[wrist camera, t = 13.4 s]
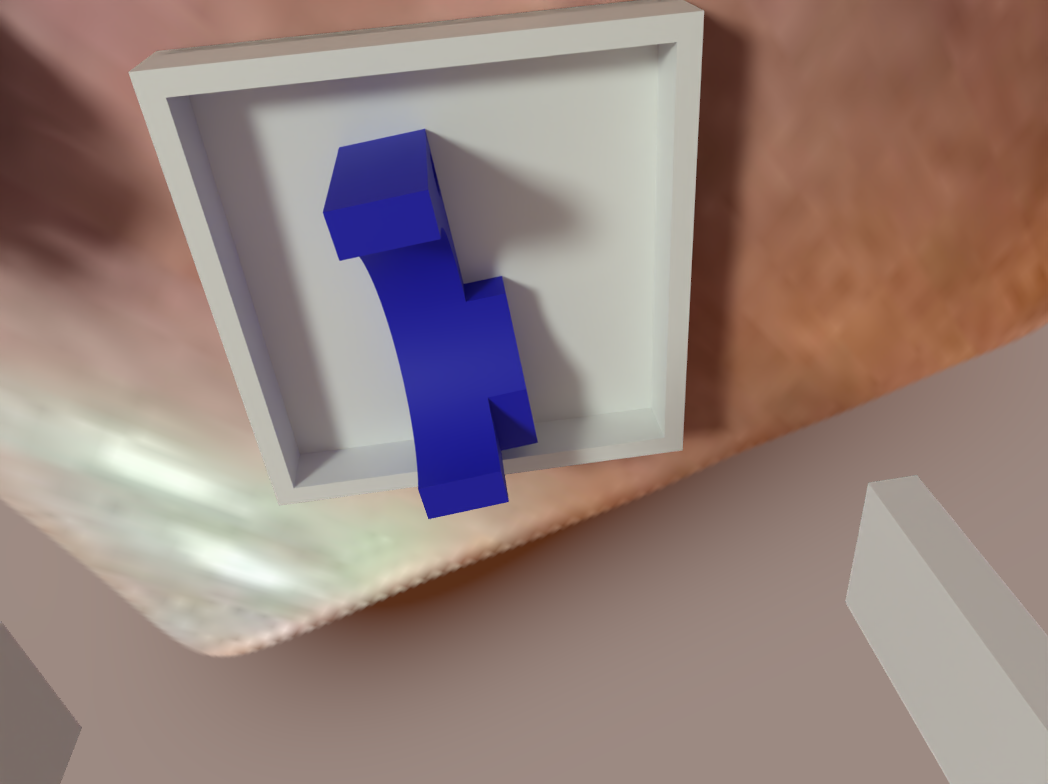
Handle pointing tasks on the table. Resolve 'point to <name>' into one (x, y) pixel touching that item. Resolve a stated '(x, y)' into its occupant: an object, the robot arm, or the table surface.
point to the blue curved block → (433, 321)
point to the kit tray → (473, 214)
